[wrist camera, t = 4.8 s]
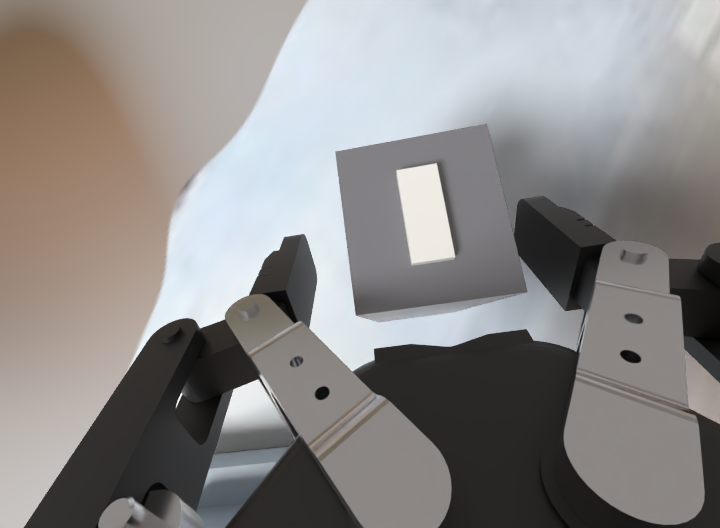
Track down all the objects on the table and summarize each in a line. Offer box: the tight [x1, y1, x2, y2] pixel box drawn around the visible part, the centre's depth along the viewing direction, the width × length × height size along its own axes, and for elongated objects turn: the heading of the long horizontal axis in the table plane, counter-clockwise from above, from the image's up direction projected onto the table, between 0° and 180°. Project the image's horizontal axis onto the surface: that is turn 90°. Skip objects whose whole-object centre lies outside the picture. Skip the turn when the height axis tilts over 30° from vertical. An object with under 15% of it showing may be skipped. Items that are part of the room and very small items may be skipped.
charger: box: [336, 124, 527, 322], centre depth 13 cm, size 4×4×10 cm
